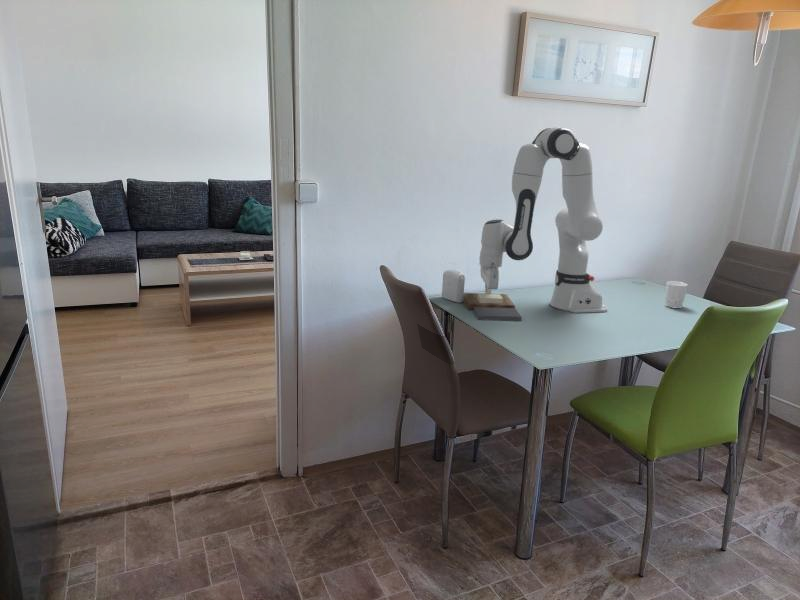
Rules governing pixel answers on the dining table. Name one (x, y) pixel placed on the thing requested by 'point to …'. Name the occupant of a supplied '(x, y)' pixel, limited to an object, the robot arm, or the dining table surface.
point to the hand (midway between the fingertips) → (487, 294)
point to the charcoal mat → (497, 313)
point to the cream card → (490, 298)
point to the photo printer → (453, 285)
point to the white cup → (675, 293)
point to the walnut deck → (473, 302)
